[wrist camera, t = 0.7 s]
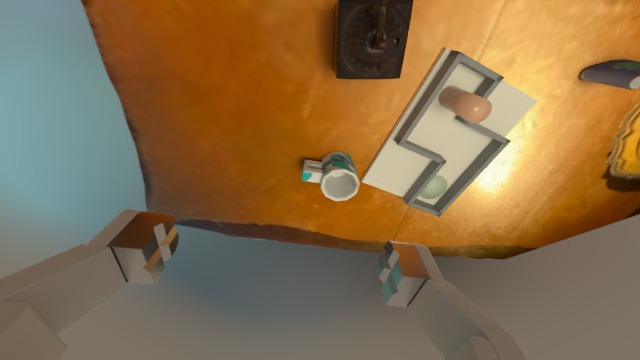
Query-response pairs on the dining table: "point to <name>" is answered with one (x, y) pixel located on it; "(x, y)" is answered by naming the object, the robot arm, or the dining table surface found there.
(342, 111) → the dining table surface
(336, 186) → the mug
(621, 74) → the flask
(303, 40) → the dining table surface
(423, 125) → the channel
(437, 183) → the pad
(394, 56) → the coffee grinder
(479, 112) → the peg
